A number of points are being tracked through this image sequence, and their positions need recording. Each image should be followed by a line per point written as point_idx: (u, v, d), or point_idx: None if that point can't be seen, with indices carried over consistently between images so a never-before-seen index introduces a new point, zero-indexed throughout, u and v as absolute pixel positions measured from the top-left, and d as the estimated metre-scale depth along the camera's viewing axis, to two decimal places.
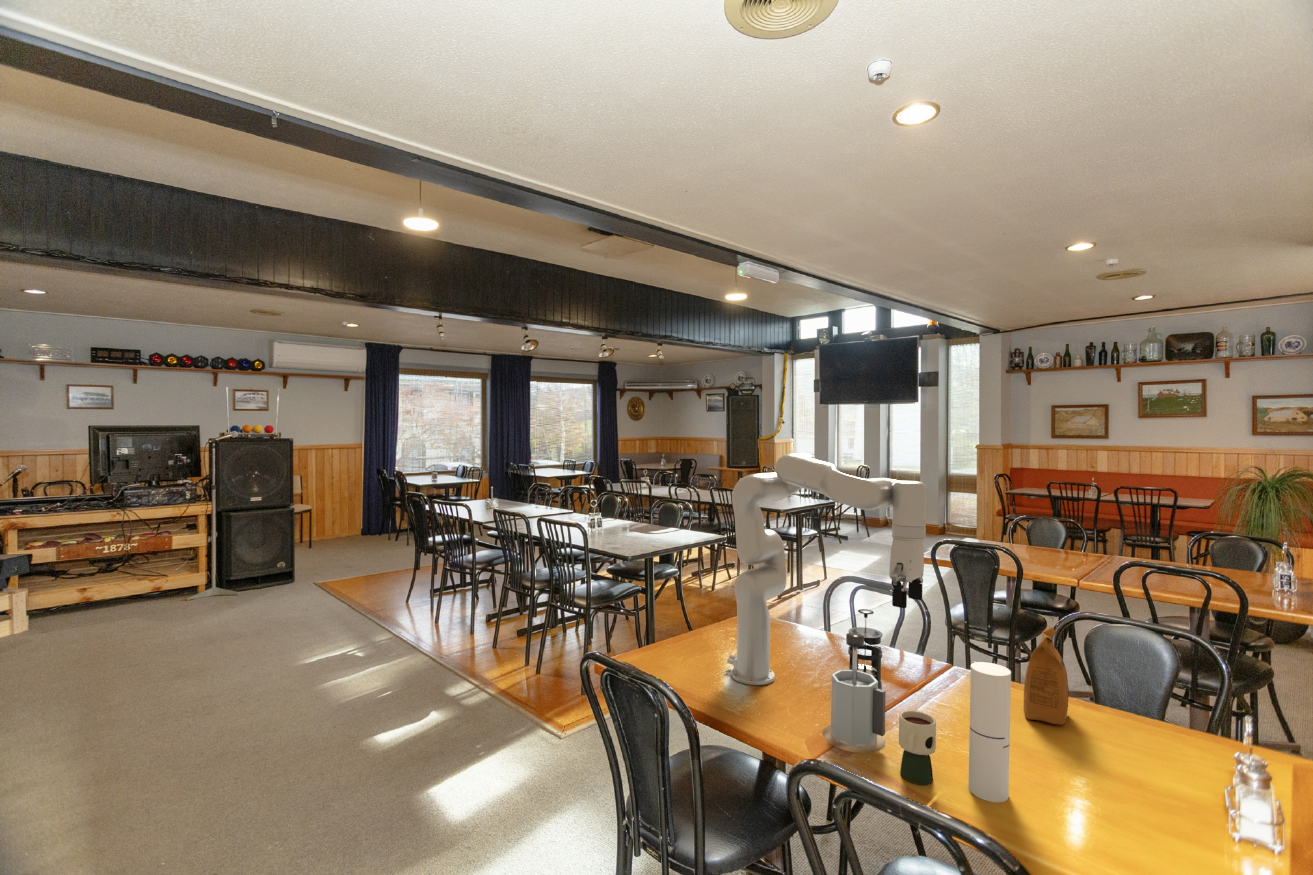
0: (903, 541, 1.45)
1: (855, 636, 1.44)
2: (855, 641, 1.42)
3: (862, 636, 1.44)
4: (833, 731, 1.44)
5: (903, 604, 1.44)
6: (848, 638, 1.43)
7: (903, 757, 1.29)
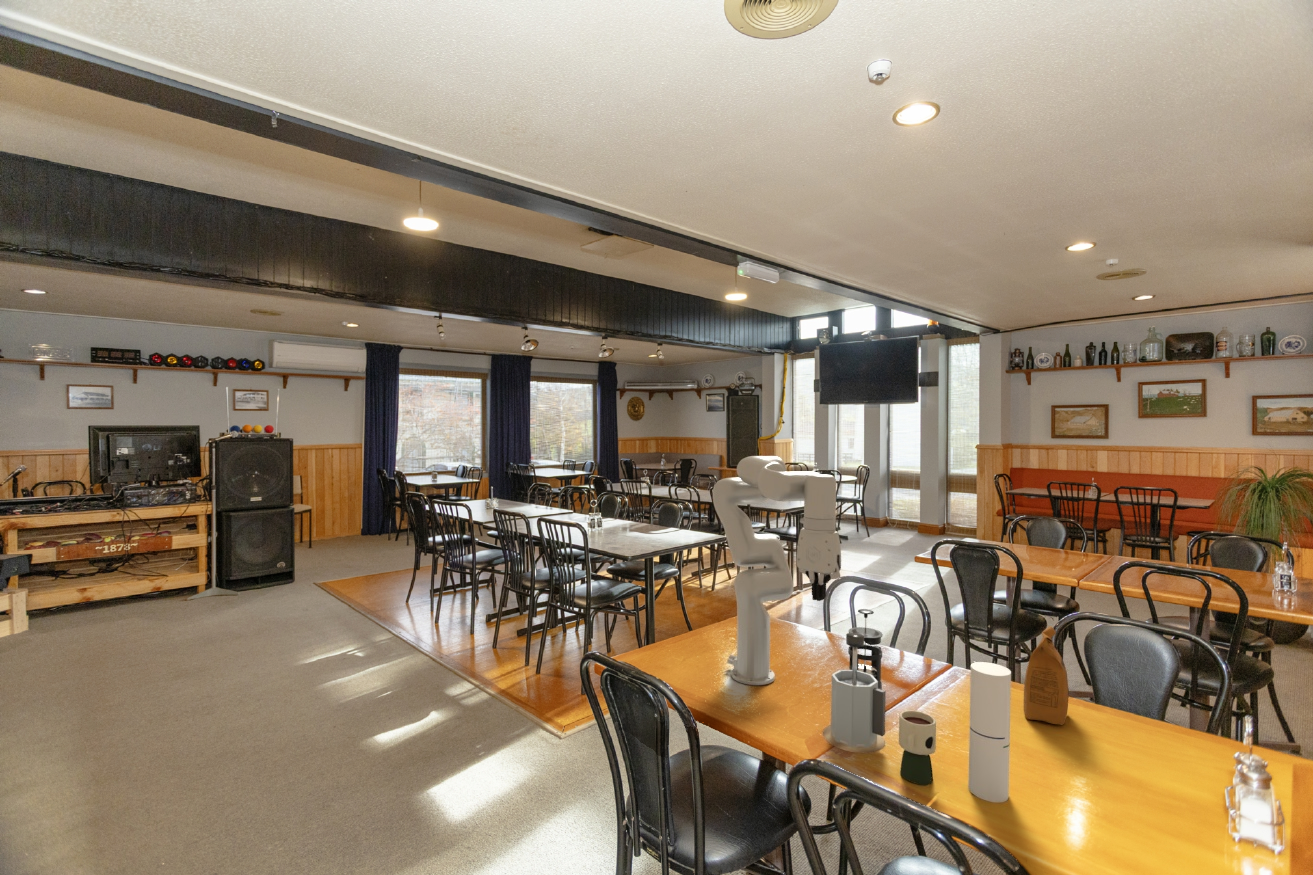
0: (836, 533, 1.48)
1: (855, 636, 1.44)
2: (855, 641, 1.42)
3: (862, 636, 1.44)
4: (833, 731, 1.44)
5: None
6: (848, 638, 1.43)
7: (903, 757, 1.29)
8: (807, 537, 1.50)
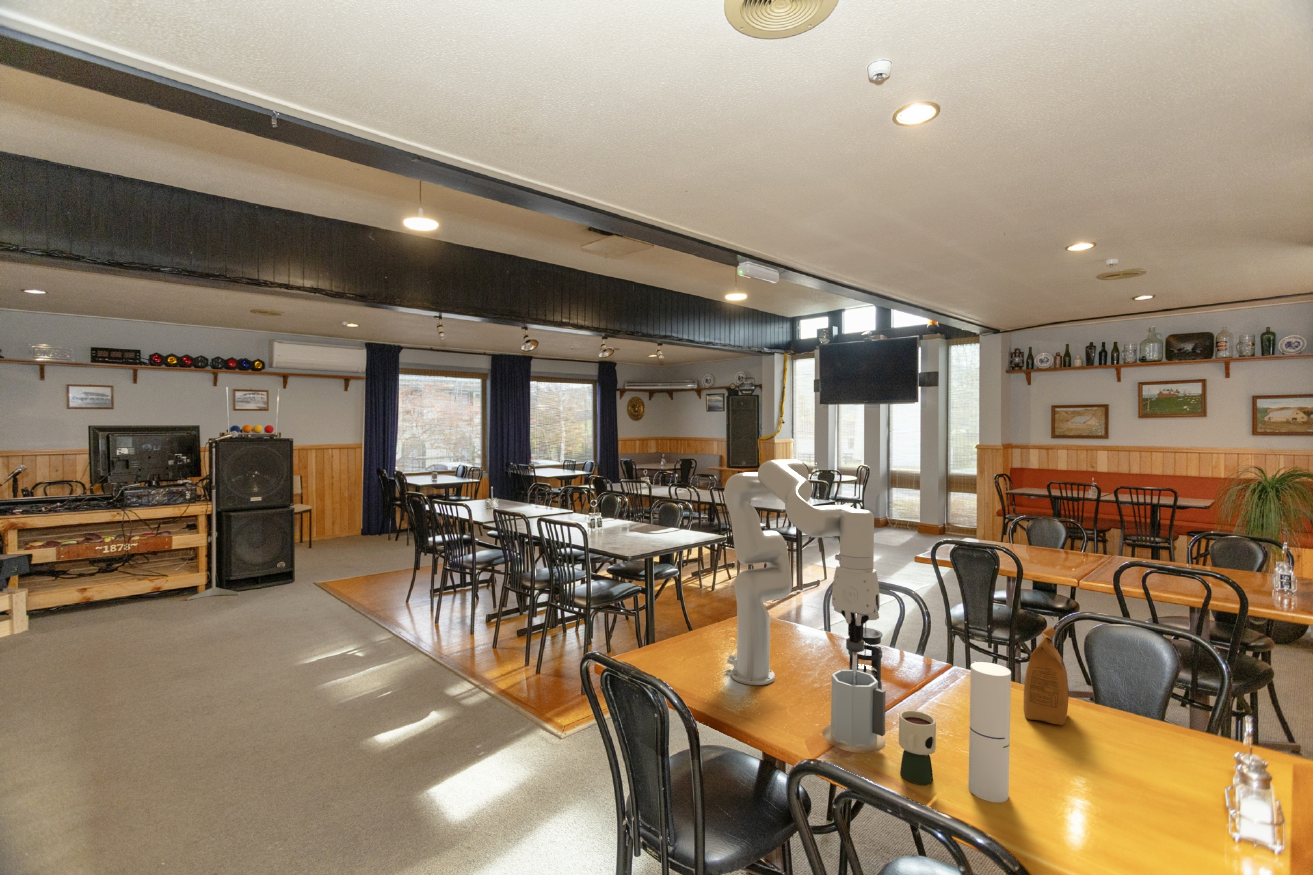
0: (875, 572, 1.41)
1: None
2: (855, 646, 1.42)
3: (862, 641, 1.44)
4: (833, 731, 1.44)
5: None
6: (848, 643, 1.43)
7: (903, 757, 1.29)
8: (843, 576, 1.43)
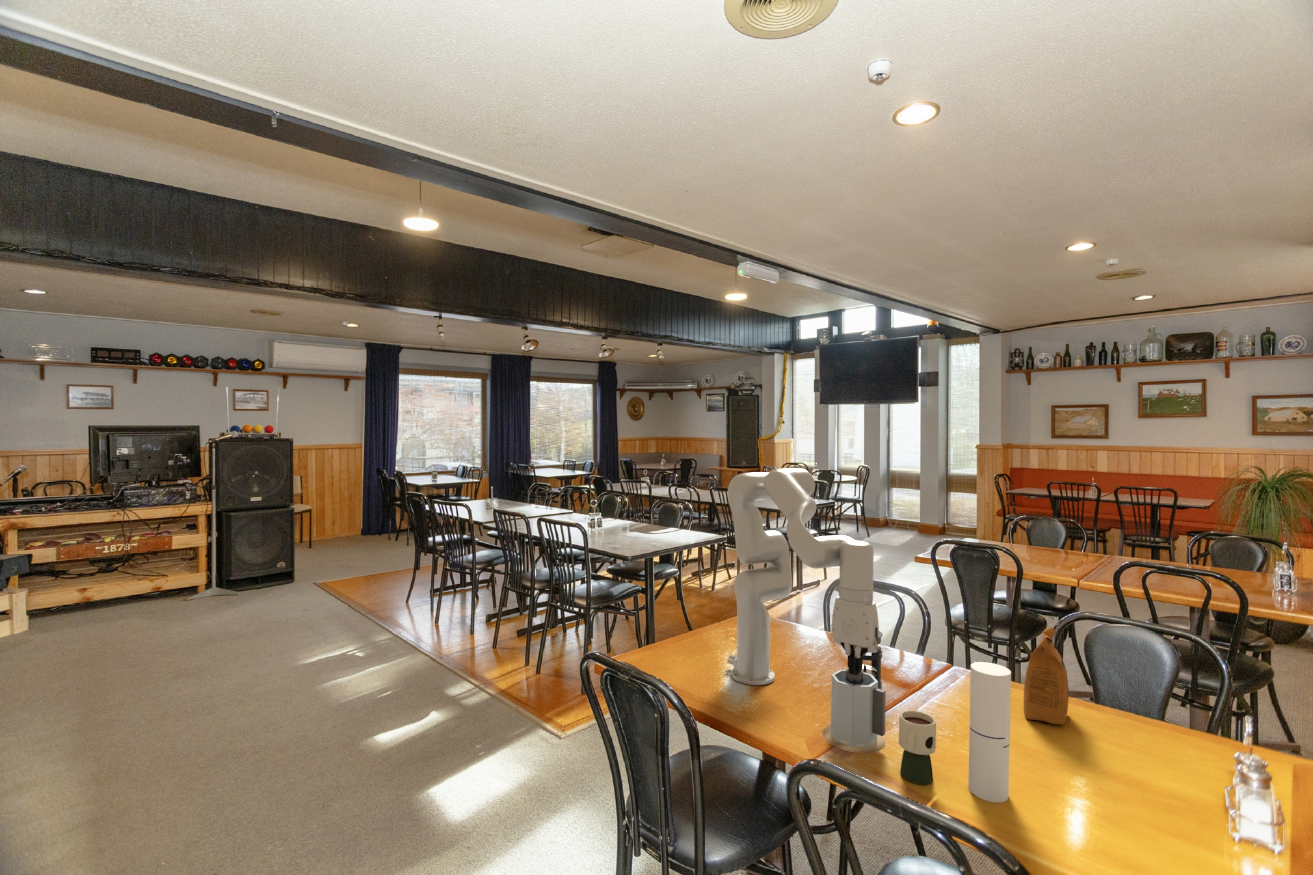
0: (874, 604, 1.41)
1: None
2: (854, 678, 1.42)
3: (861, 673, 1.44)
4: (833, 731, 1.44)
5: None
6: (847, 675, 1.44)
7: (903, 757, 1.29)
8: (843, 607, 1.43)
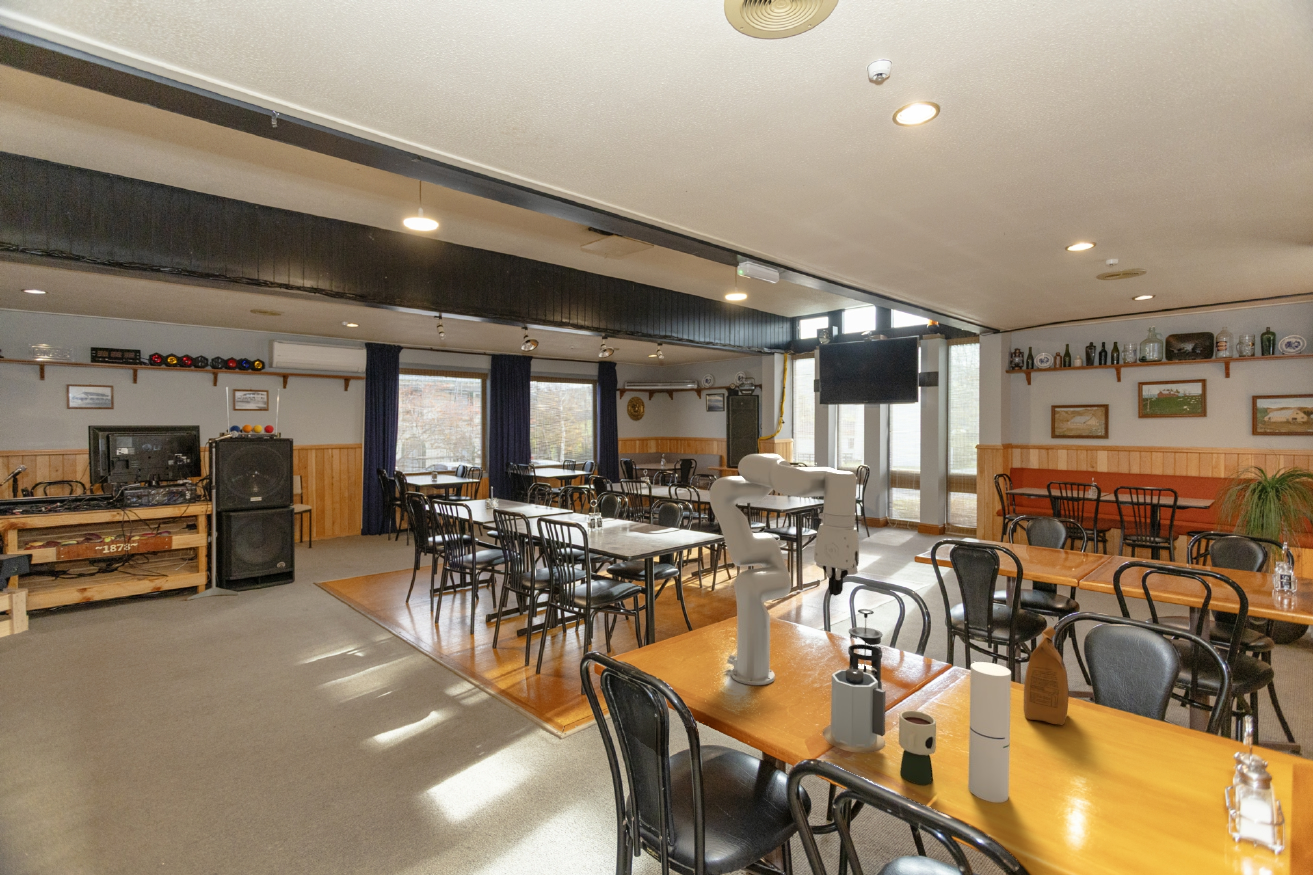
0: (855, 530, 1.49)
1: (854, 673, 1.44)
2: (854, 678, 1.42)
3: (861, 673, 1.44)
4: (833, 731, 1.44)
5: None
6: (847, 675, 1.44)
7: (903, 757, 1.29)
8: (826, 533, 1.52)
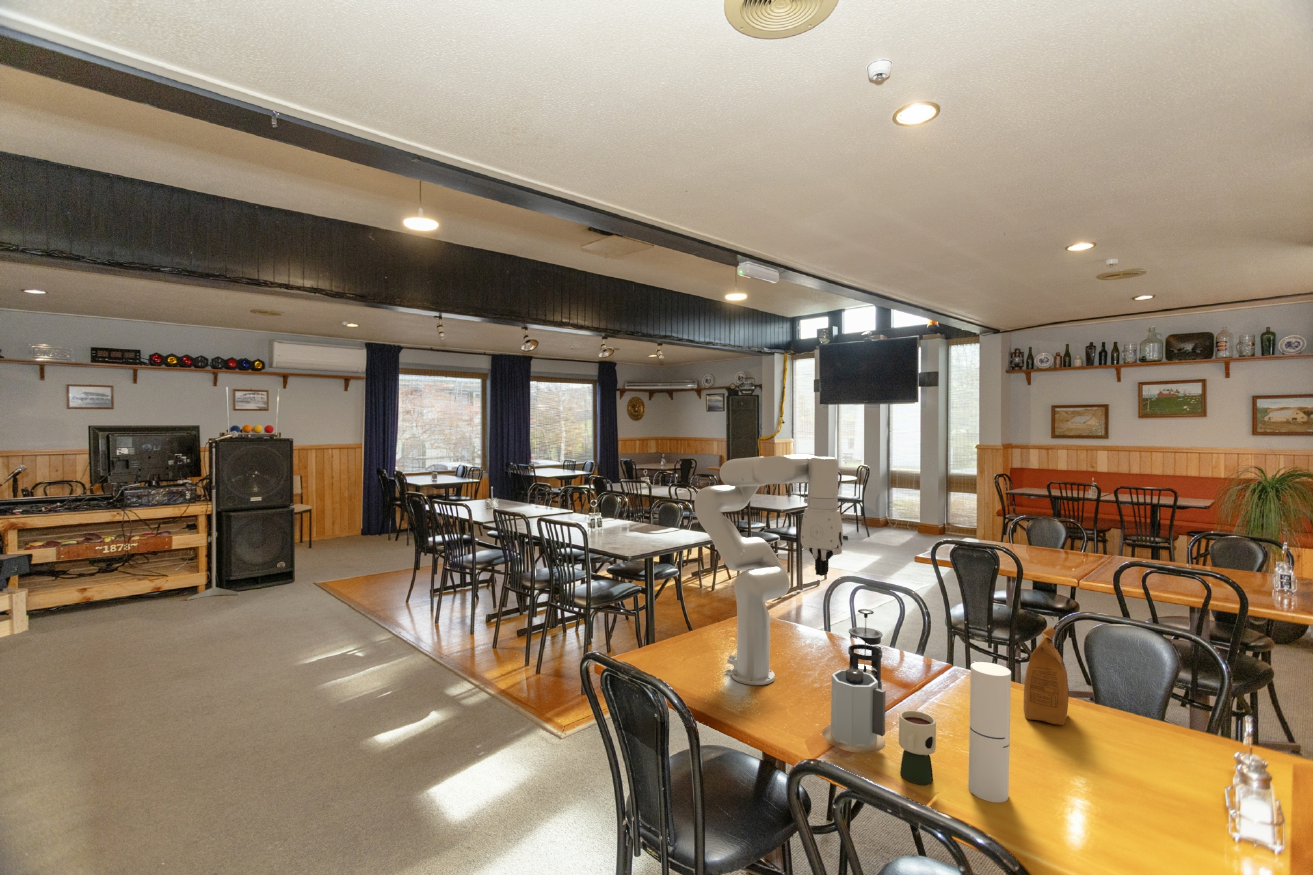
0: (838, 512, 1.57)
1: (854, 673, 1.44)
2: (854, 678, 1.42)
3: (861, 673, 1.44)
4: (833, 731, 1.44)
5: None
6: (847, 675, 1.44)
7: (903, 757, 1.29)
8: (811, 516, 1.59)
